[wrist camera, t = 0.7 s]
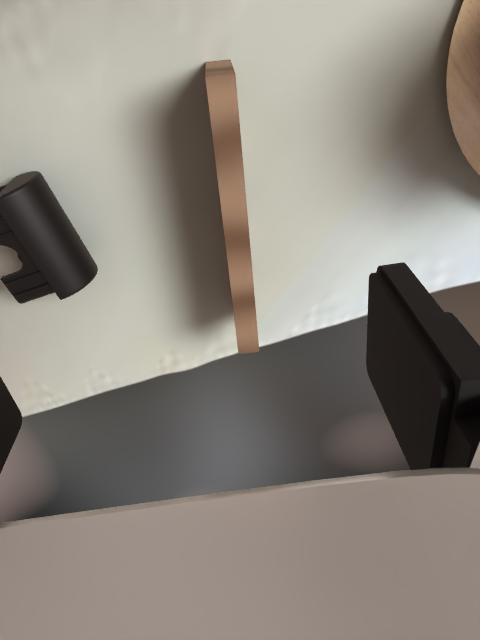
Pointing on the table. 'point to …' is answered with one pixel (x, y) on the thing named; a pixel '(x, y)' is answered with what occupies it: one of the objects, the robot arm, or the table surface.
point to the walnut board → (232, 197)
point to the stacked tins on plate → (465, 82)
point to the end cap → (41, 241)
